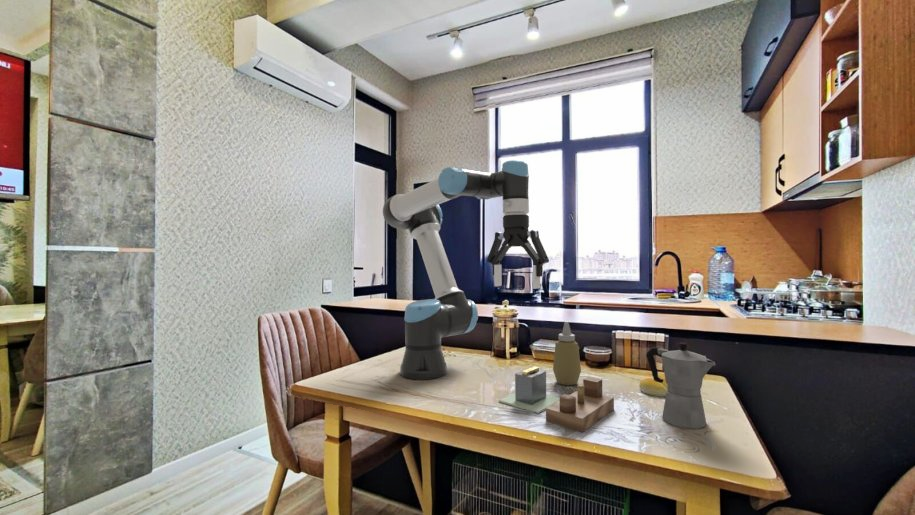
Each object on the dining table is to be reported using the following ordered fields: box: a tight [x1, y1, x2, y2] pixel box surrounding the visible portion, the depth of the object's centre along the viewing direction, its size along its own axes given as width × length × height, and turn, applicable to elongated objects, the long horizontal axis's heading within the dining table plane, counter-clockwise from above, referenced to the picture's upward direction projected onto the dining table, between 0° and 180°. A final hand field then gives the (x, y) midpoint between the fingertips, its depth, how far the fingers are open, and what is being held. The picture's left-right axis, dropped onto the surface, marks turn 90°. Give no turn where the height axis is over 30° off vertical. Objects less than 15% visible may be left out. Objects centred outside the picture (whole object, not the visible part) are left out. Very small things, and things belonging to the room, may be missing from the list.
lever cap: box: [514, 365, 547, 405], centre depth 107 cm, size 5×7×8 cm
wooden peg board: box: [545, 376, 615, 433], centre depth 97 cm, size 17×9×7 cm, turn 137°
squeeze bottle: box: [552, 321, 582, 386], centre depth 121 cm, size 8×8×18 cm
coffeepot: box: [646, 341, 716, 430], centre depth 94 cm, size 15×9×18 cm, turn 35°
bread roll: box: [639, 376, 668, 397], centre depth 113 cm, size 8×9×4 cm
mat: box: [498, 392, 560, 414], centre depth 107 cm, size 12×12×1 cm
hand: (516, 287), depth 120 cm, fingers open, 13 cm apart
